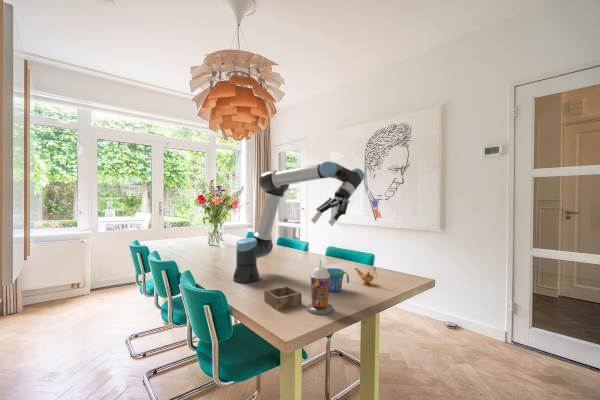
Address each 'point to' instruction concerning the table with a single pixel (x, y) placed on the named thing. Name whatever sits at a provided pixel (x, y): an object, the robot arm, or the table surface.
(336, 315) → the table surface
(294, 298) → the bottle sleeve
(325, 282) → the smoothie
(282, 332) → the table surface
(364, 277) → the magic lamp
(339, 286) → the snack cup
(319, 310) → the slate coaster
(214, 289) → the table surface
